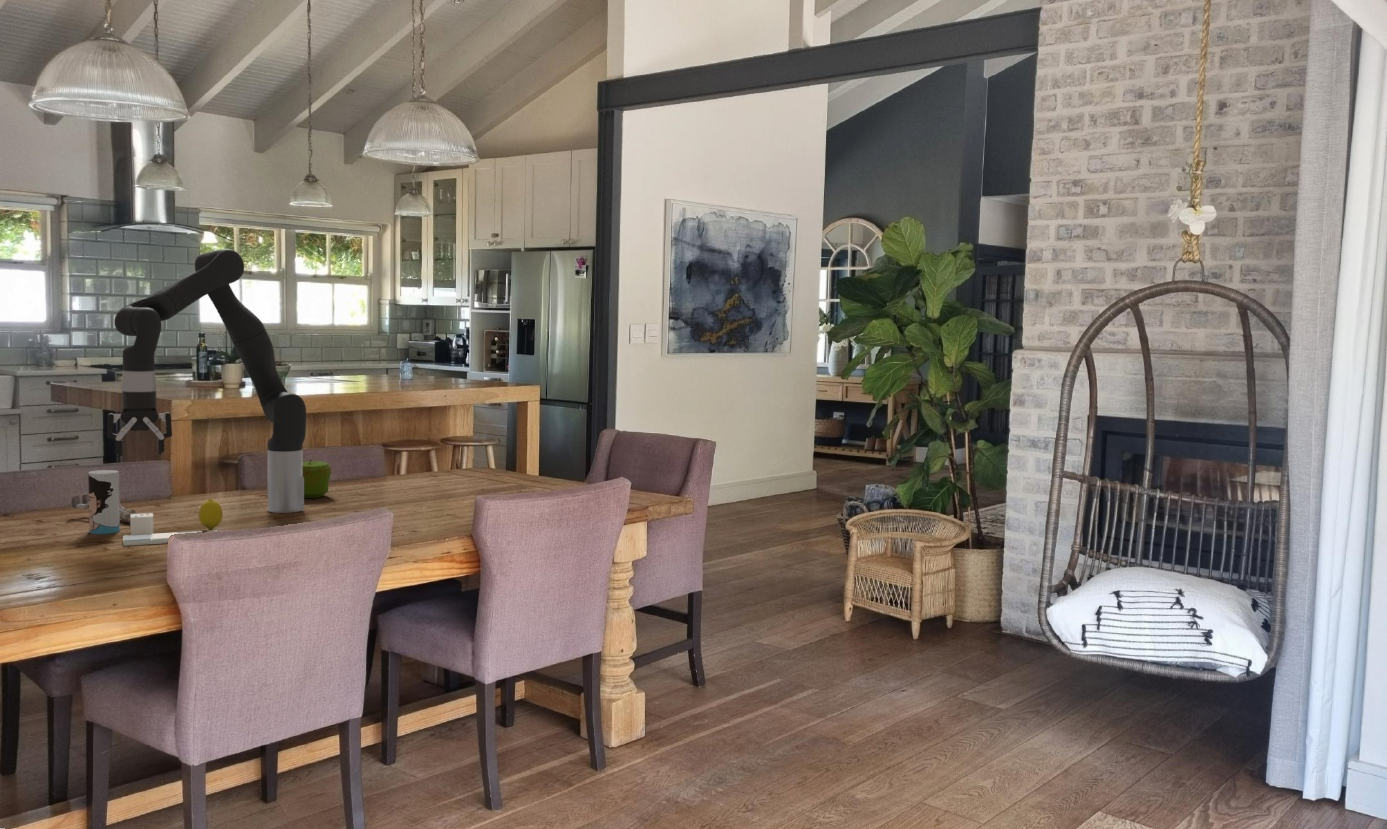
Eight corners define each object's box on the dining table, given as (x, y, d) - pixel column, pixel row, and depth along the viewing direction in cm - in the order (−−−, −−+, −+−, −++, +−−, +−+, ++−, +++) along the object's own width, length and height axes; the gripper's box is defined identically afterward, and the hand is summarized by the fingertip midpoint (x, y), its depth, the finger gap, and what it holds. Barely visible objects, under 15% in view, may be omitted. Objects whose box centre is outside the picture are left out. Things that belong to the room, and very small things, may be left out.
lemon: (203, 527, 290) (203, 497, 290) (225, 528, 291) (225, 497, 290) (195, 532, 285) (195, 500, 284) (218, 532, 285) (218, 501, 285)
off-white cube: (153, 532, 283) (152, 512, 283) (153, 536, 279) (153, 515, 278) (130, 533, 281) (129, 513, 281) (130, 537, 276) (129, 516, 276)
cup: (106, 527, 287) (105, 469, 285) (125, 530, 284) (125, 471, 283) (83, 532, 280) (82, 472, 279) (103, 535, 278) (102, 474, 277)
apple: (300, 492, 349) (300, 456, 348) (338, 494, 347) (338, 458, 346) (280, 498, 337) (280, 461, 336) (319, 501, 335) (319, 463, 334)
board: (230, 533, 284) (230, 529, 284) (232, 539, 278) (232, 534, 278) (123, 540, 273) (123, 535, 273) (123, 545, 267) (123, 540, 267)
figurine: (88, 490, 302) (147, 505, 296) (87, 511, 303) (145, 526, 297) (69, 494, 297) (128, 509, 290) (67, 515, 297) (126, 530, 291)
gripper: (170, 388, 283) (171, 452, 285) (106, 388, 276) (107, 454, 278) (172, 390, 276) (173, 456, 278) (106, 390, 270) (107, 458, 271)
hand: (140, 455), depth 278 cm, fingers open, 8 cm apart
